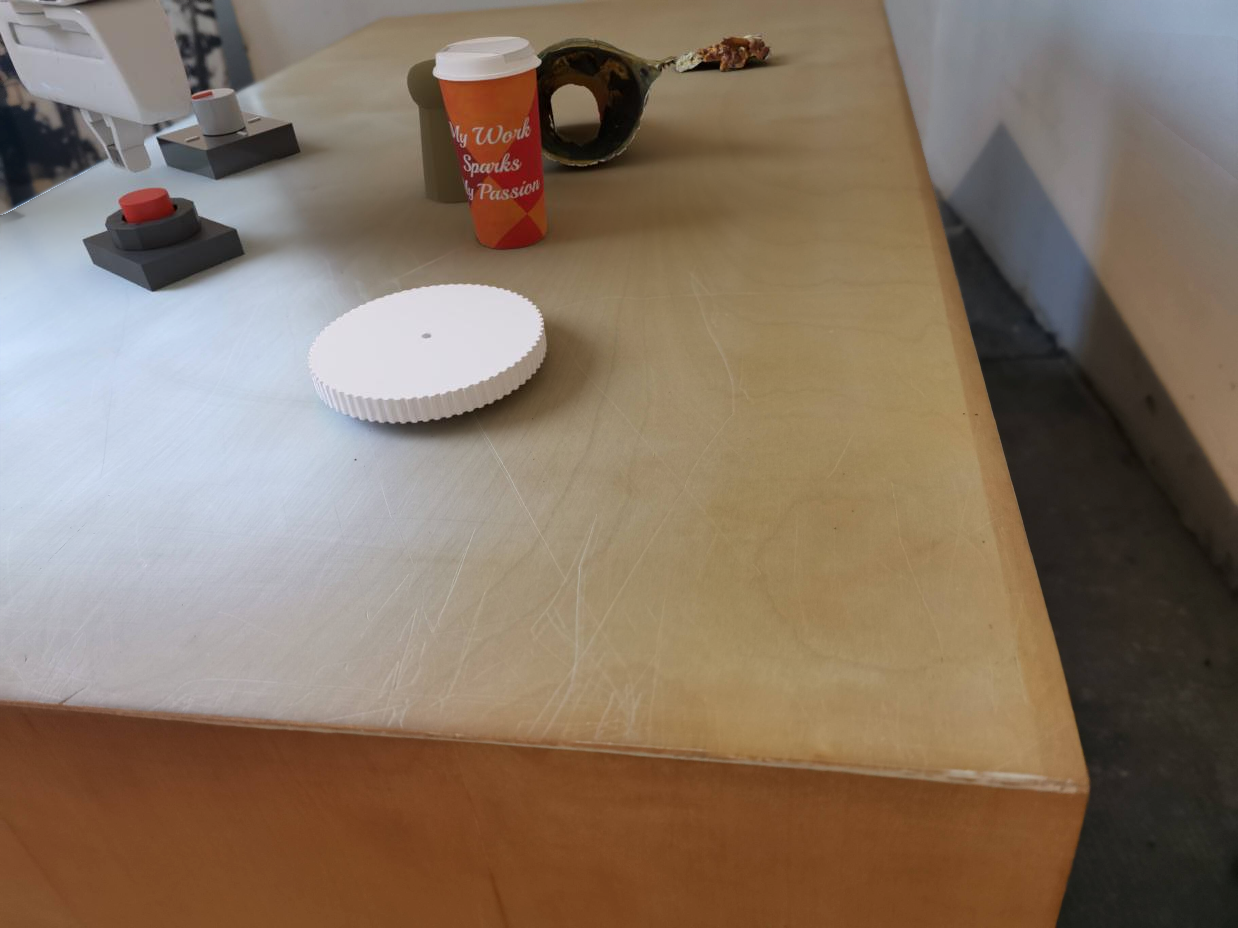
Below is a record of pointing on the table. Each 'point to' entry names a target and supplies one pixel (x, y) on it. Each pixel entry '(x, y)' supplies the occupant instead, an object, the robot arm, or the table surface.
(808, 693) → the table surface
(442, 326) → the plastic lid
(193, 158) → the panel
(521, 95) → the paper cup
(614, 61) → the olive metal hollow piece
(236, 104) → the burner knob
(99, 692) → the table surface
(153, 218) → the button
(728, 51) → the pastry
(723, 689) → the table surface
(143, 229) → the box
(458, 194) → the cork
